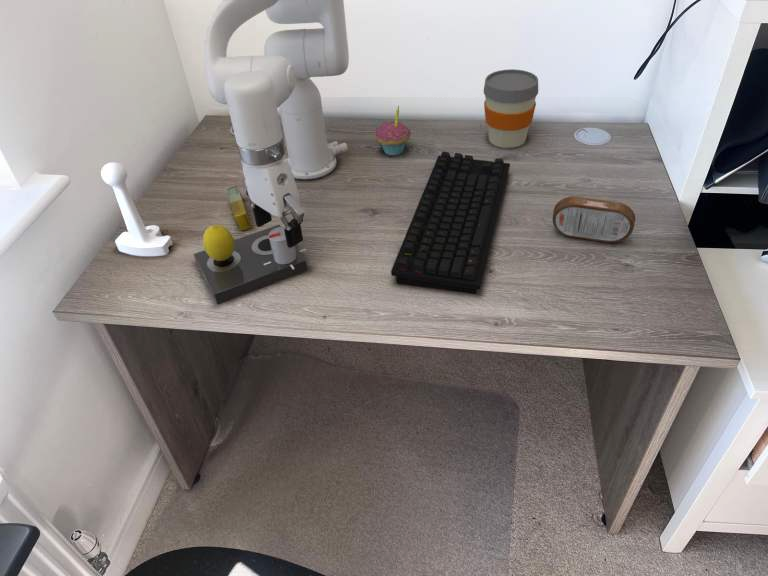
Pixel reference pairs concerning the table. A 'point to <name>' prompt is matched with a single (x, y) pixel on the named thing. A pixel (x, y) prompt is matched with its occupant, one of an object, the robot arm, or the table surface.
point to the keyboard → (453, 225)
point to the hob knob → (281, 247)
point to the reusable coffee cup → (509, 106)
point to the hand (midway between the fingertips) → (279, 233)
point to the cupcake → (392, 136)
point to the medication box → (239, 208)
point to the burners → (258, 247)
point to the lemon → (218, 242)
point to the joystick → (133, 219)
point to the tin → (593, 219)
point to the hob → (247, 269)
